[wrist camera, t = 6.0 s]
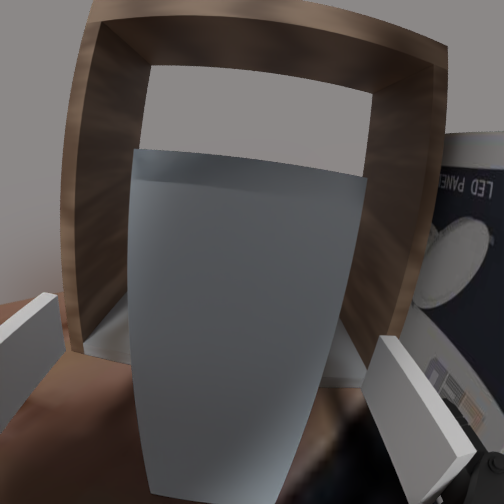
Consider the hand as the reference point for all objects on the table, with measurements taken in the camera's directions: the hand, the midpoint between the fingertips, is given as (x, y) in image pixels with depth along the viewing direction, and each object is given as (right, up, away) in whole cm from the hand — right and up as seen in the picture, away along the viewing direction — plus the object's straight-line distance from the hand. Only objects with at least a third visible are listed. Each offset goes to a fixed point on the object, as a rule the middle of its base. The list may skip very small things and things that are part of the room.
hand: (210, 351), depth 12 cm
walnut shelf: (0, -4, +16) cm, 16 cm away
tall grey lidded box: (0, -7, +4) cm, 8 cm away
